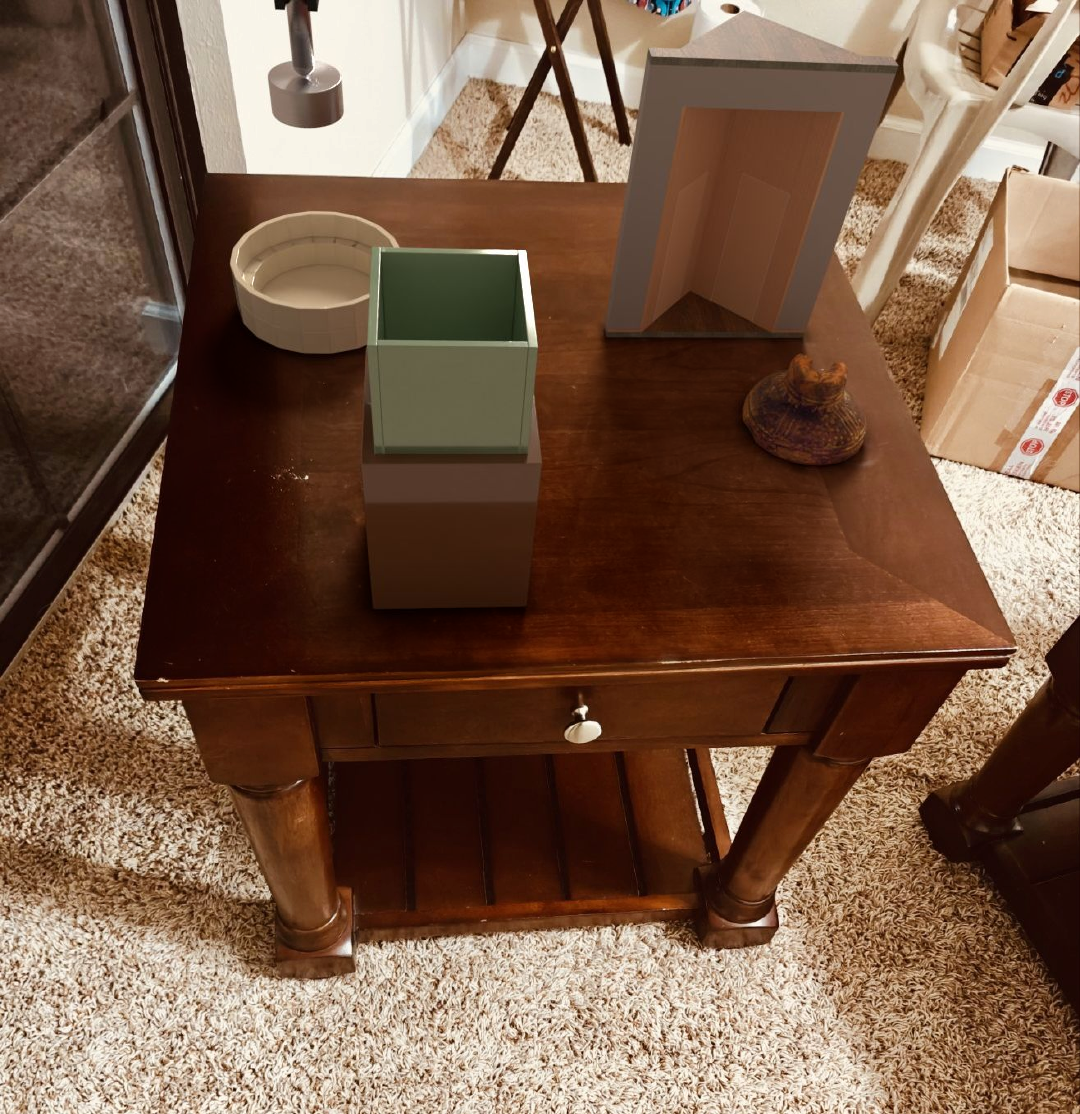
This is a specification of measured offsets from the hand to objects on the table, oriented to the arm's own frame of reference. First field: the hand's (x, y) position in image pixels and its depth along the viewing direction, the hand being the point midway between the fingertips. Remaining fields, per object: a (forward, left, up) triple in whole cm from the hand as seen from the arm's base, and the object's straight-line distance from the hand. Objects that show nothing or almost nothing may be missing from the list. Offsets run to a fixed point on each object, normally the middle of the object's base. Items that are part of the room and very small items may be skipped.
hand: (297, 2), depth 78 cm
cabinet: (+38, +1, -29) cm, 48 cm away
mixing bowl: (-1, 0, -29) cm, 29 cm away
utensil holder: (+11, -32, -29) cm, 45 cm away
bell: (+45, -17, -29) cm, 57 cm away
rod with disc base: (0, 0, -9) cm, 9 cm away
